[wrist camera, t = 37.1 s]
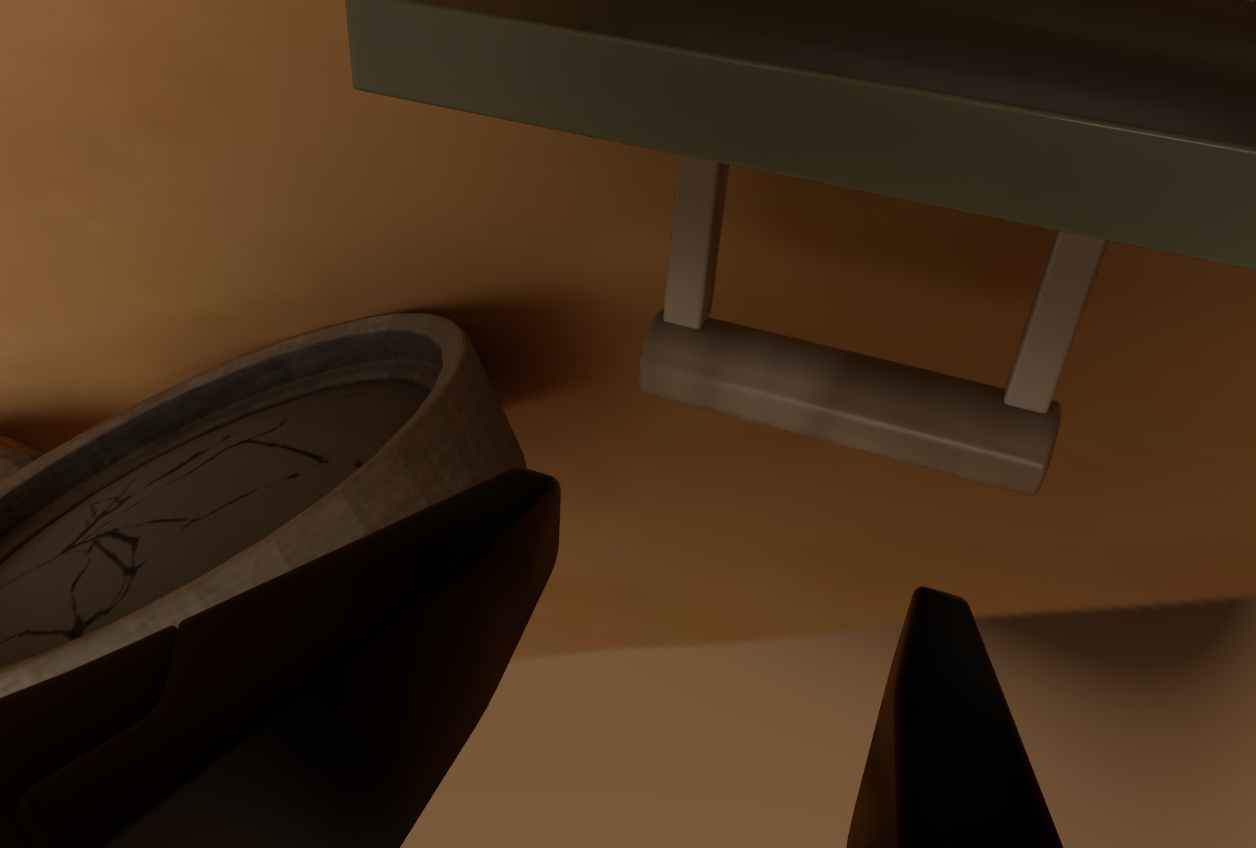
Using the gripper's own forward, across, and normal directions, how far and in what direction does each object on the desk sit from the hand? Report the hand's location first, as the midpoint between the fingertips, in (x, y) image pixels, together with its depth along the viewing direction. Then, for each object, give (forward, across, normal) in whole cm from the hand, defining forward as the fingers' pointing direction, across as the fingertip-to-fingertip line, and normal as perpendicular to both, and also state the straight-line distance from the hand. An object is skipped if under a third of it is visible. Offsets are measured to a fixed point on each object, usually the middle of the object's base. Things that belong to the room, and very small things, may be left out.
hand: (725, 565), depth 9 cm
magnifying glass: (+12, +17, +11) cm, 24 cm away
